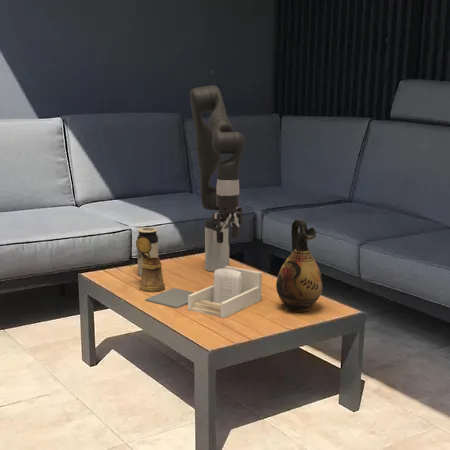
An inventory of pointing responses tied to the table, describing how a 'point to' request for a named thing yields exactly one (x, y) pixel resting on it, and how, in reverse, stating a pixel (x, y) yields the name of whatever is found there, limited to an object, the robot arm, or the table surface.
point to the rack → (239, 302)
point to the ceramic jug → (299, 272)
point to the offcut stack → (207, 308)
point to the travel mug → (153, 238)
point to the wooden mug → (150, 268)
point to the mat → (171, 298)
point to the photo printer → (227, 284)
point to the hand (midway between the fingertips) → (227, 240)
